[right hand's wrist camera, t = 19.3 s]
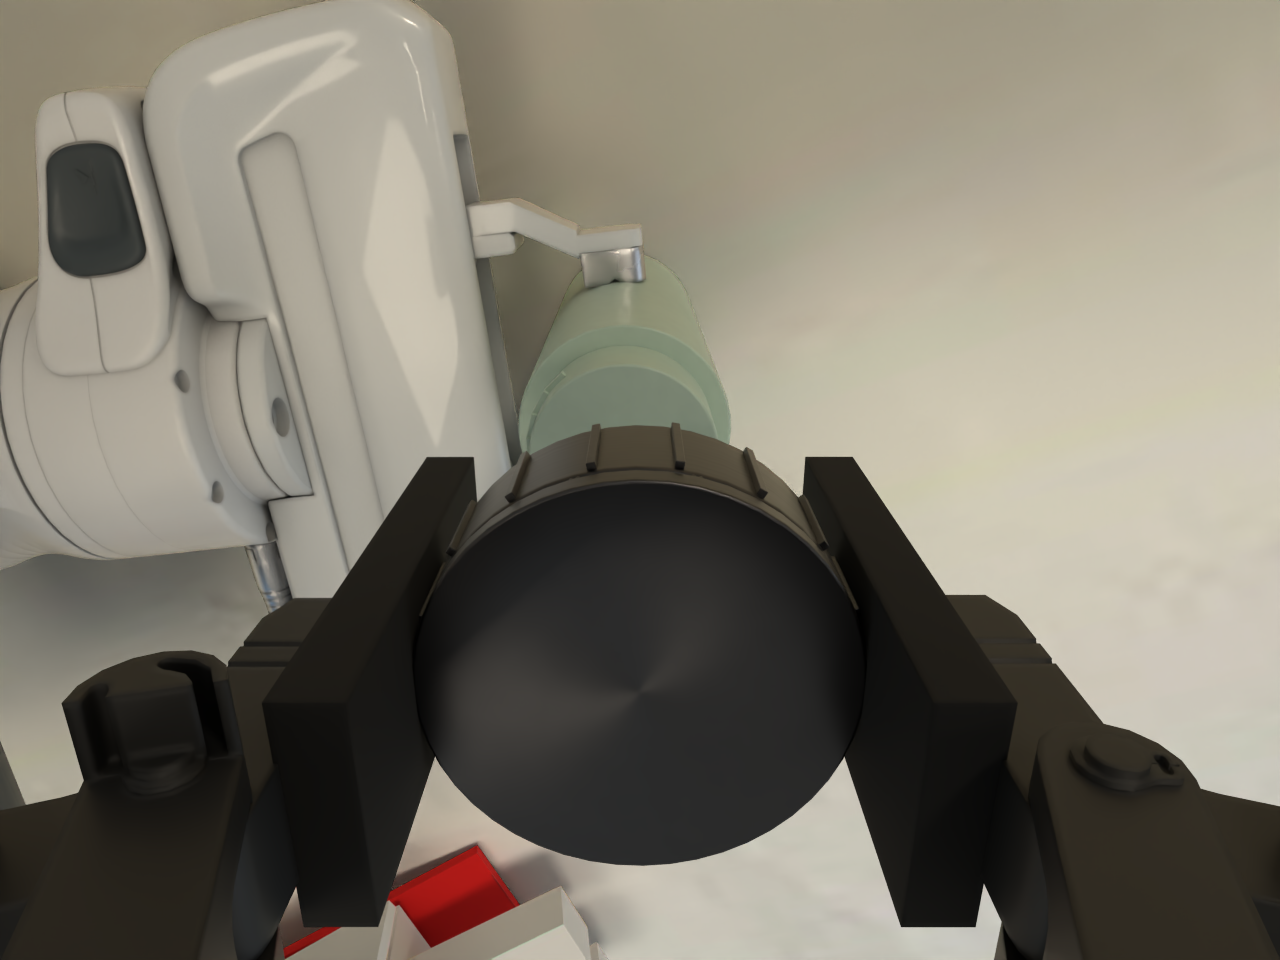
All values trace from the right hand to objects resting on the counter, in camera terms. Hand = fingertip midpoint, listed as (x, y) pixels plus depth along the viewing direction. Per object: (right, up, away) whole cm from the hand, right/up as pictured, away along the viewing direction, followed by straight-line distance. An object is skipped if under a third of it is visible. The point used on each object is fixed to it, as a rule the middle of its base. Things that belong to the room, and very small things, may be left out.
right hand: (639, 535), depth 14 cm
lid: (0, -1, -4) cm, 4 cm away
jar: (0, +7, +18) cm, 19 cm away
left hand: (0, +5, +12) cm, 13 cm away
